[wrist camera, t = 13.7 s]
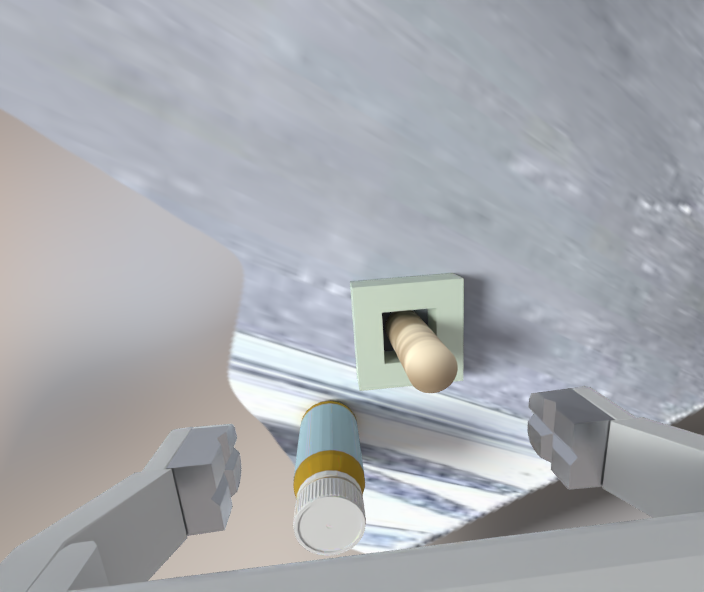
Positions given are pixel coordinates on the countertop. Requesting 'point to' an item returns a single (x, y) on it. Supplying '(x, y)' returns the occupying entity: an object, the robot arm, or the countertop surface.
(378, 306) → the socket
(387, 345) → the countertop surface
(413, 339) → the peg
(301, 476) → the bottle
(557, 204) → the countertop surface
